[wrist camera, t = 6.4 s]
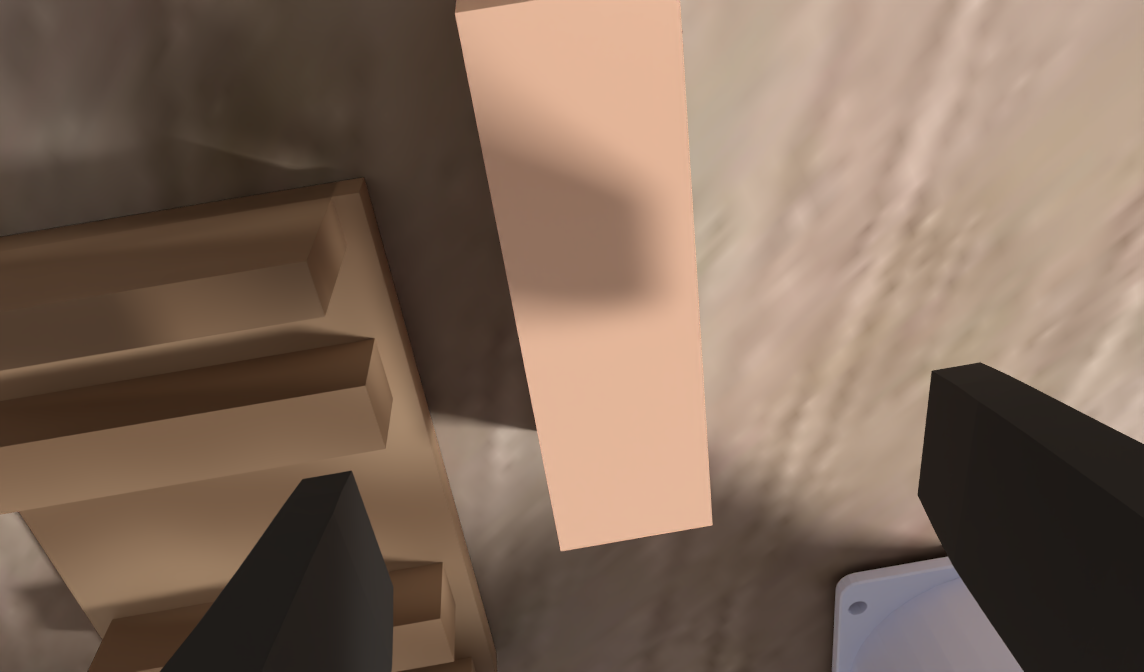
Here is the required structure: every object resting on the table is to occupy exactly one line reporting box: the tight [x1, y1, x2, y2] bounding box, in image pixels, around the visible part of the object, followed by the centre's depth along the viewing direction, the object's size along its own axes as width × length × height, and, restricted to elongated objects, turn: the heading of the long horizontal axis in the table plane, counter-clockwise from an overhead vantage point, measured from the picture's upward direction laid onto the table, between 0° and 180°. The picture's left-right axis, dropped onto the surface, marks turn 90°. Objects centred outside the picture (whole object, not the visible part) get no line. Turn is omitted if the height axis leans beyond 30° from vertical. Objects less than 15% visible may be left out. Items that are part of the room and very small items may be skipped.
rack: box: [0, 177, 497, 672], centre depth 18 cm, size 14×9×4 cm, turn 8°
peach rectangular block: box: [455, 0, 713, 551], centre depth 15 cm, size 10×3×4 cm, turn 8°
